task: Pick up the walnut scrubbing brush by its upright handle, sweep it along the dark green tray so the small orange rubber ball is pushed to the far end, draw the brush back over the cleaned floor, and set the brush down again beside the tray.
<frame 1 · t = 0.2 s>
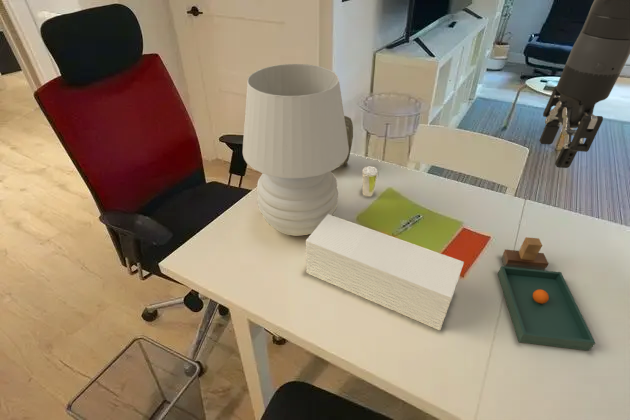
hand: (552, 154, 69), 33 cm above the table, tool pointing down, fingers open, 8 cm apart
stack of papers: (377, 284, 87), on the table
tabletop clock: (328, 169, 125), on the table
brush: (521, 264, 91), on the table
ball: (540, 296, 81), point 2 cm above the table, touching tray
tray: (538, 308, 81), on the table
table lamp: (298, 222, 104), on the table
milkshake: (369, 194, 114), on the table
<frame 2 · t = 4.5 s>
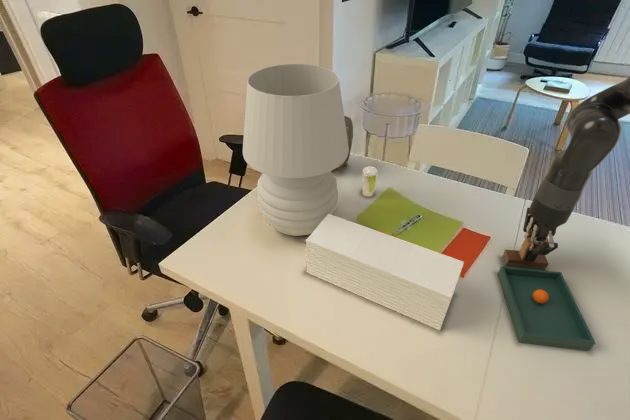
hand: (526, 255, 89), 3 cm above the table, tool pointing down, fingers closed on brush, 2 cm apart
brush: (522, 264, 91), on the table, touching gripper
everything else where it was.
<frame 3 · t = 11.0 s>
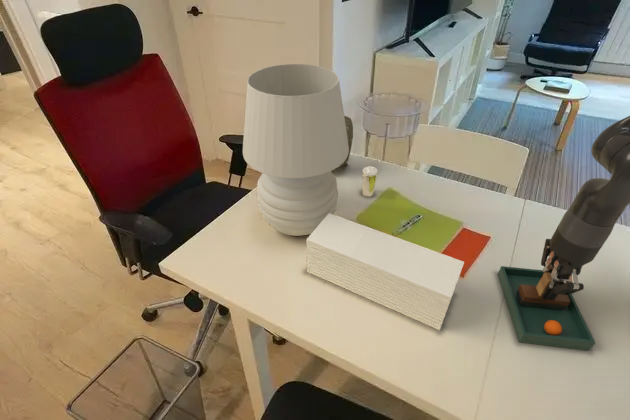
hand: (545, 292, 79), 4 cm above the table, tool pointing down, fingers closed on brush, 2 cm apart
brush: (539, 301, 81), point 1 cm above the table, touching gripper
ball: (553, 327, 75), point 2 cm above the table, tilted 66°, touching tray
everything else where it was.
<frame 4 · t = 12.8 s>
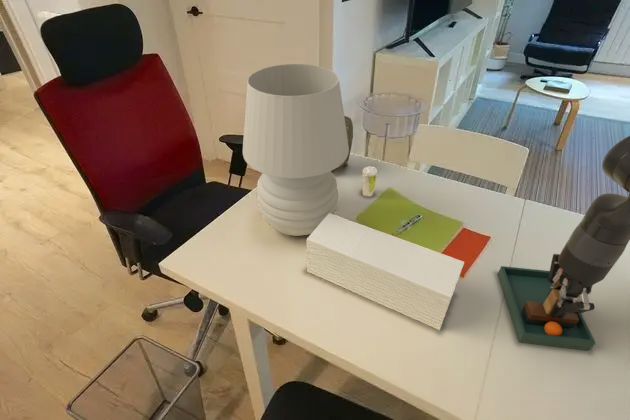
hand: (552, 309, 76), 4 cm above the table, tool pointing down, fingers closed on brush, 2 cm apart
brush: (546, 318, 78), point 1 cm above the table, touching ball, gripper
ball: (553, 329, 74), point 2 cm above the table, tilted 66°, touching brush, tray
everything else where it was.
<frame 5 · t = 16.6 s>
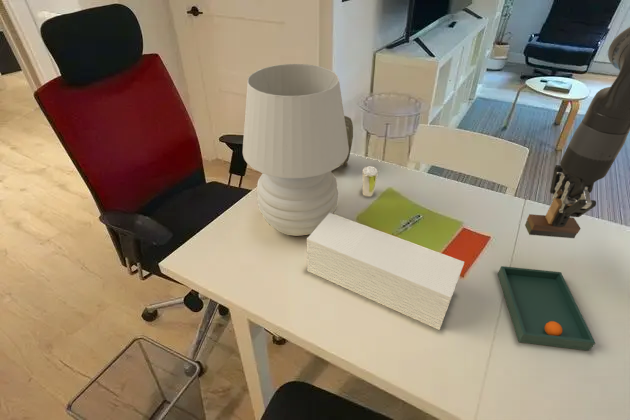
hand: (554, 220, 78), 17 cm above the table, tool pointing down, fingers closed on brush, 2 cm apart
brush: (548, 231, 80), point 14 cm above the table, touching gripper
ball: (553, 329, 74), point 2 cm above the table, tilted 67°, touching tray
everything else where it was.
when the fingers open (3 cm above the table, at t = 20.2 s): brush stays where it is, on the table.
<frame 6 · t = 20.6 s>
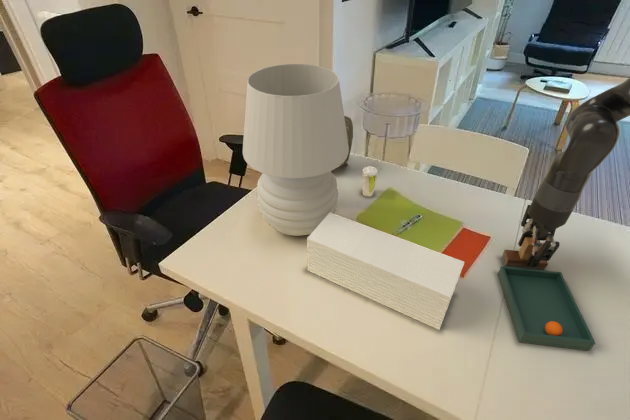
hand: (526, 255, 89), 3 cm above the table, tool pointing down, fingers open, 6 cm apart
brush: (521, 265, 91), on the table
everything else where it was.
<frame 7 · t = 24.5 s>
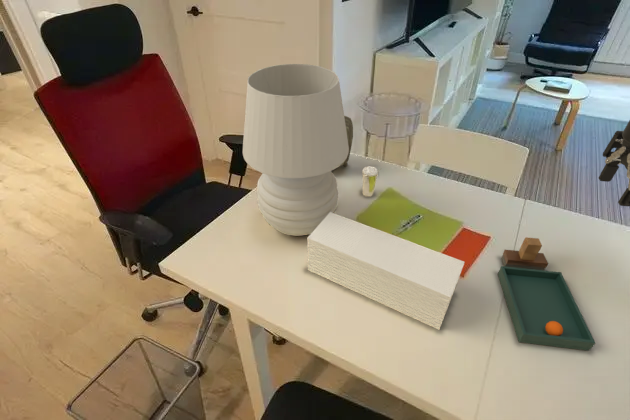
hand: (613, 192, 75), 23 cm above the table, tool pointing down, fingers open, 8 cm apart
nothing on the table moved.
at the end: ball inside the target area in the tray (0.4 cm from its centre), point 2.3 cm above the tray's base; brush inside the target area (0.3 cm from its centre), on the table; brush tilted 0° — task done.
